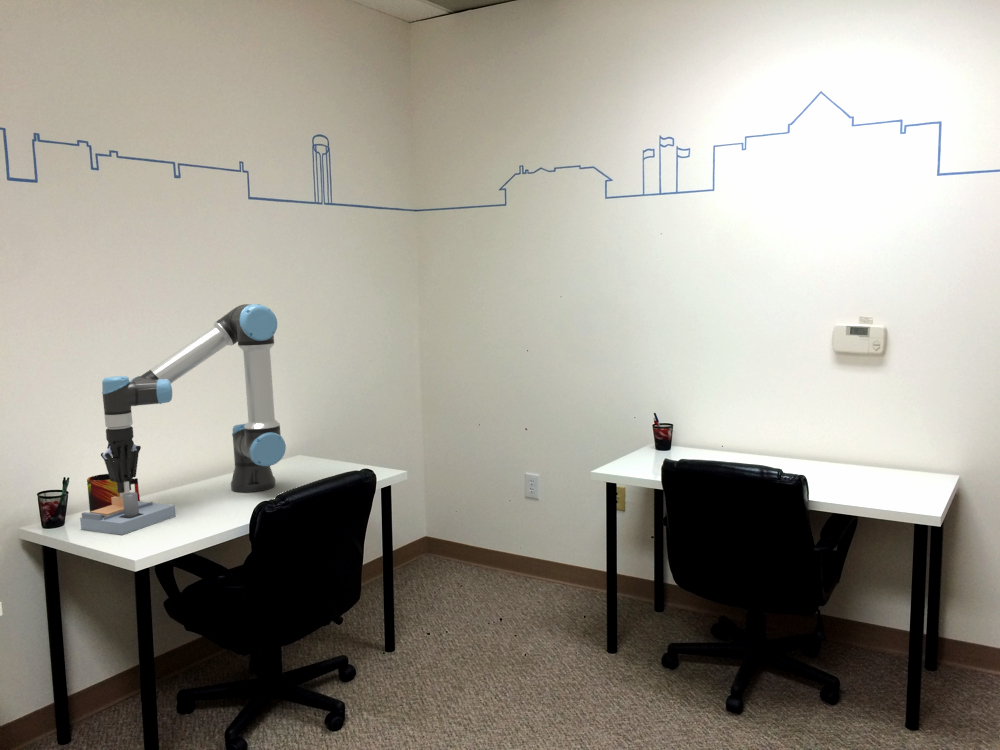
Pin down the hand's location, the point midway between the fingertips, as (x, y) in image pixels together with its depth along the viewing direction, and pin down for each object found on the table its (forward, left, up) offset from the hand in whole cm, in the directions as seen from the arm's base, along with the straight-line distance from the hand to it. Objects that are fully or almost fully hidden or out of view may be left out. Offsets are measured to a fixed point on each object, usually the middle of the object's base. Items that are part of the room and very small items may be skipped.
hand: (125, 502), depth 246 cm
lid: (+5, 0, -2) cm, 5 cm away
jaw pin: (+5, +9, -5) cm, 12 cm away
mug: (-4, -11, -6) cm, 13 cm away
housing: (+3, +4, -5) cm, 7 cm away
